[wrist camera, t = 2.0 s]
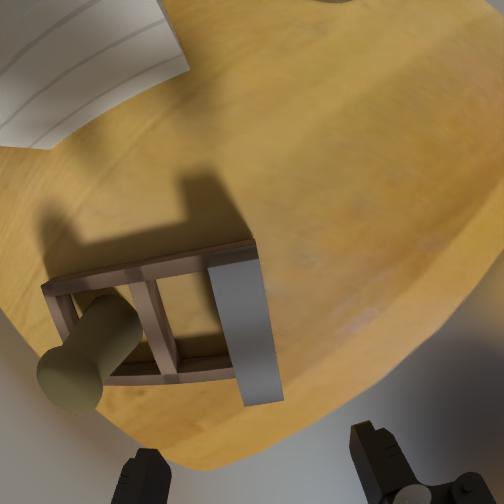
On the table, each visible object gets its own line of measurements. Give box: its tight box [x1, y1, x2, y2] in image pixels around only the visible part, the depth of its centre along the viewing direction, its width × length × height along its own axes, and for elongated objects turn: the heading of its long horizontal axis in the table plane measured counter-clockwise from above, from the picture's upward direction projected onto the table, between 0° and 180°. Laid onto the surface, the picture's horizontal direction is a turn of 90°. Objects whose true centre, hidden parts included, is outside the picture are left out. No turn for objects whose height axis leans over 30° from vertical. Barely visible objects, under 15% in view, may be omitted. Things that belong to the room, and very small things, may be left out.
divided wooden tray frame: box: [41, 239, 284, 406], centre depth 21 cm, size 11×20×6 cm, turn 100°
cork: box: [37, 295, 143, 415], centre depth 19 cm, size 6×6×11 cm
